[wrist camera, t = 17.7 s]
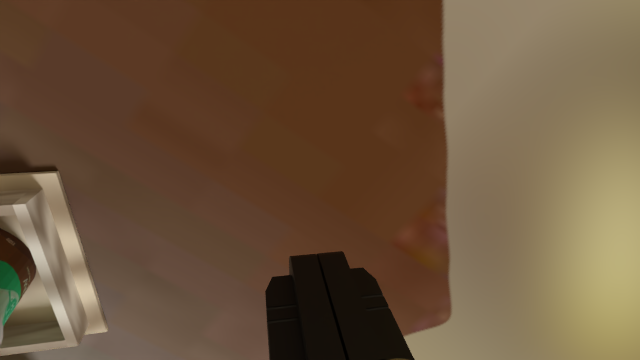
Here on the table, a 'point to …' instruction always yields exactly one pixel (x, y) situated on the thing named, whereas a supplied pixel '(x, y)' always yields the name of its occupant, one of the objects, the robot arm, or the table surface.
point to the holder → (48, 267)
